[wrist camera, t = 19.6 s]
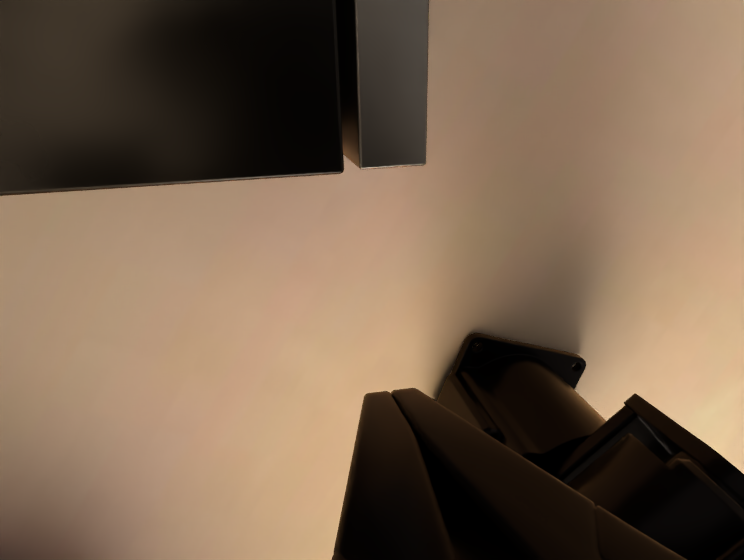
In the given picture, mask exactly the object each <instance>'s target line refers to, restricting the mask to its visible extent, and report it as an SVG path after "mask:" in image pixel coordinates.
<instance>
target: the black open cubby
mask: <svg viewBox="0 0 744 560" xmlns="http://www.w3.org/2000/svg"><path fill="white" fill-rule="evenodd" d="M343 170H344V160H343V139H342V117H341V95H340V73H339V51H338V29H337V7H336V0H0V196H5V195H20V194H35V193H51V192H66V191H82V190H97V189H113V188H128V187H144V186H159V185H174V184H190V183H205V182H221V181H236V180H252V179H267V178H282V177H298V176H313V175H329V174H341V173H343Z"/></svg>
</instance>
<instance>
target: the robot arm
mask: <svg viewBox="0 0 744 560" xmlns="http://www.w3.org/2000/svg"><path fill="white" fill-rule="evenodd" d="M476 342H479V344H478V346H476V347H475V348H472V346H473V345H474V344H475V343H476ZM575 363H576V364H575ZM574 364H575V366H573V365H574ZM572 366H573V367H572ZM585 367H586V362H585V360H584V359H583V358H582V357H580V356H579V355H577V354H574V353H569V352H565V351H560V350H555V349H551V348H546V347H541V346H537V345H532V344H527V343H522V342H518V341H513V340H508V339H504V338H499V337H494V336H490V335H485V334H480V333H473V334H470V335H469V336H467V337H466V339H465V340H464V343H463V345H462V347H461V350H460V352H459V355H458V357H457V359H456V362H455V364H454V366H453V369H452V371H451V374H450V375H449V376H447V378H446V380H445V383H444V385H443V388H442V390H441V392H440V395H439V397H438V399H437V402H436V401H435V400H433V399H432V398H430V397H429V396H427V395H425V394H424V393H422V392H421V391H419V390H418V389H415V388H408V389H400V390H393V391H392V392H391V393H390V392H388V391H383V392H374V393H367V394H366V395H365V396H364V400H363V405H362V410H361V415H360V420H359V425H358V431H357V436H356V441H355V446H354V451H353V456H352V461H351V466H350V471H349V476H348V481H347V486H346V492H345V497H344V502H343V507H342V512H341V517H340V522H339V527H338V532H337V537H336V542H335V548H334V555H333V557H332V560H744V474H743V473H742V472H740V471H739V470H738V469H737V468H736V467H735V466H733V465H732V464H731V463H730V462H729V461H727V460H726V459H725V458H724V457H722V456H721V455H720V454H719V453H717V452H716V451H715V450H713V449H712V448H711V447H709V446H708V445H707V444H705V443H704V442H703V441H701V440H700V439H698V438H697V437H696V436H694V435H693V434H691V433H690V432H689V431H687V430H686V429H684V428H683V427H682V426H680V425H679V424H677V423H676V422H675V421H673V420H672V419H670V418H669V417H668V416H666V415H665V414H663V413H662V412H661V411H659V410H658V409H656V408H655V407H654V406H652V405H651V404H649V403H648V402H647V401H645V400H644V399H642V398H641V397H640V396H638V395H637V394H634V395H632V396H631V397H630V398H629V399H628V400H627V401H625V402H624V404H625V406H624V407H623V408H622V409H620V410H619V411H618V412H617V413H616V414H615V415H613V416H612V417H611V418H610V419H609V420H608V421H606V420H605V419H604V418H603V417H602V416H600V415H599V414H598V413H597V412H596V411H595V410H594V409H593V408H592V407H591V406H590V405H589V404H588V403H587V402H586V401H585V400H584V399H583V398H582V397H581V396H580V395H579V394H578V393H577V392H576V391H575V390H574V389H575V387H576V385H577V383H578V381H579V379H580V377H581V375H582V374H583V372H584V370H585Z"/></svg>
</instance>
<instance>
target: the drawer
mask: <svg viewBox="0 0 744 560" xmlns="http://www.w3.org/2000/svg"><path fill="white" fill-rule="evenodd" d="M336 7H337V29H338V51H339V73H340V95H341V117H342V139H343V155H345V156H346V157H347V158H348V159H349V160H350V161H352V162H353V163H354V164H355V165H356V166H357V167H359V168H360V169H378V168H393V167H409V166H423V165H425V164H426V145H427V88H428V31H429V0H336Z"/></svg>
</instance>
